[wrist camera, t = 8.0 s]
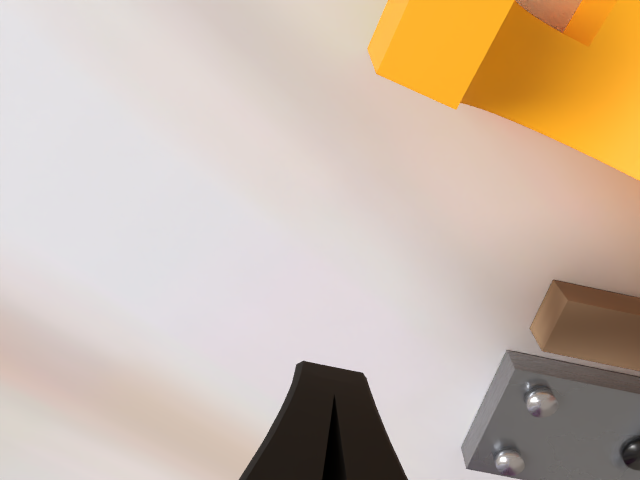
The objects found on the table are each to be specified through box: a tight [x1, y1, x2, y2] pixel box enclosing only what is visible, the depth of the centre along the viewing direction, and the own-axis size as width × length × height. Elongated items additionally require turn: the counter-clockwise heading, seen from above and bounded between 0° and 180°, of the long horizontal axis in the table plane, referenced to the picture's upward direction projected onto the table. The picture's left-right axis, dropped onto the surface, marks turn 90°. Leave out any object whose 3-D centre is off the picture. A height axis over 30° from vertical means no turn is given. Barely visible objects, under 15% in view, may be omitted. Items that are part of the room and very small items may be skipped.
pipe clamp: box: [367, 0, 640, 181], centre depth 13 cm, size 12×4×6 cm, turn 67°
